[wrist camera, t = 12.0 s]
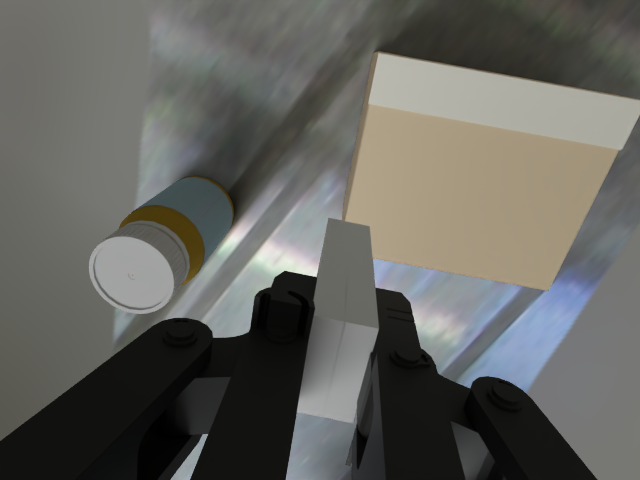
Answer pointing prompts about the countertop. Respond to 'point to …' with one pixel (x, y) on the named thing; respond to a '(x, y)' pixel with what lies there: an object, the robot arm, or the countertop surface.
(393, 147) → the flap
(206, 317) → the countertop surface
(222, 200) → the bottle
